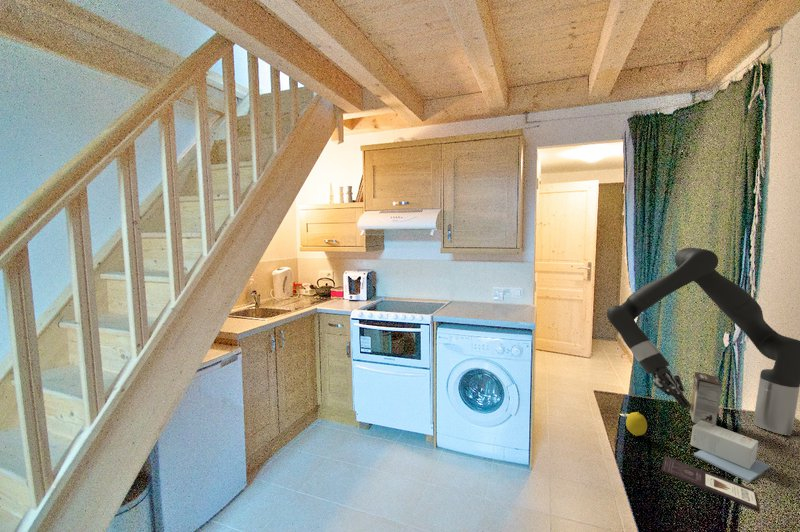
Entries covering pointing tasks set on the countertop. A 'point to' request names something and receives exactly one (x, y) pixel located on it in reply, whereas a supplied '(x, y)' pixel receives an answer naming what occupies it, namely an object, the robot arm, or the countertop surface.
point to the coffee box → (705, 398)
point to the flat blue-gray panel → (734, 466)
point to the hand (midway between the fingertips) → (686, 406)
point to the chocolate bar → (710, 482)
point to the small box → (724, 444)
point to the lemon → (636, 423)
